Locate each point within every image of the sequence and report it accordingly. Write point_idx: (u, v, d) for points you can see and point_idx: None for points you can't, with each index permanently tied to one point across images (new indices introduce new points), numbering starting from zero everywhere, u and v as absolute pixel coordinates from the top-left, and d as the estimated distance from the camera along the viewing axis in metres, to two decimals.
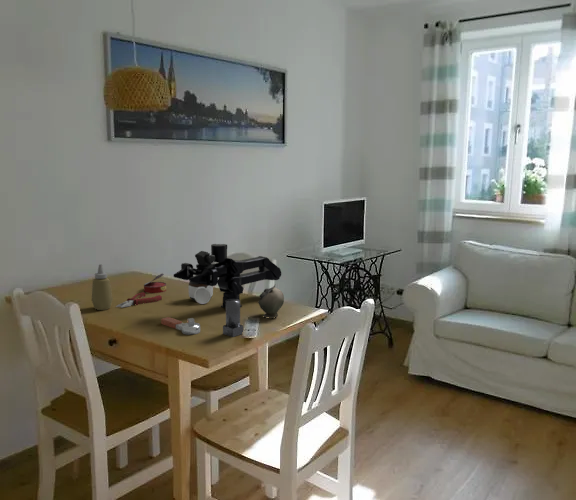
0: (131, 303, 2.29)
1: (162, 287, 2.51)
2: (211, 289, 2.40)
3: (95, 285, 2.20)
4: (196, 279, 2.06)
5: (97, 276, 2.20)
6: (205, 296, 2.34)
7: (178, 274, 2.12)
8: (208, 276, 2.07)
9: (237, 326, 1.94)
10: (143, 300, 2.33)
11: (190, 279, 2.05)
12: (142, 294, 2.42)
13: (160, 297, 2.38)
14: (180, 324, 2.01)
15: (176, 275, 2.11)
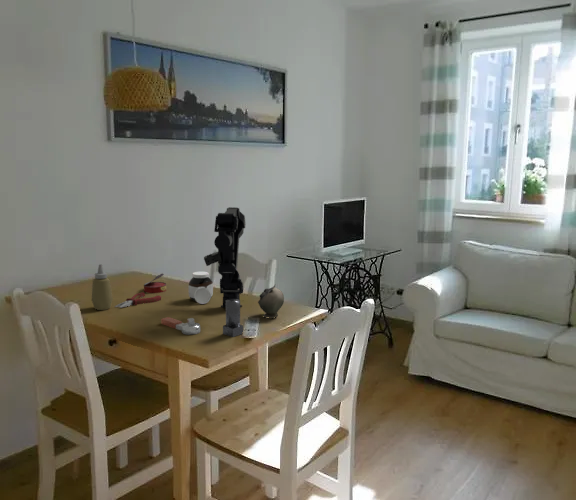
0: (130, 303, 2.29)
1: (162, 287, 2.51)
2: (211, 289, 2.40)
3: (95, 285, 2.20)
4: (227, 282, 2.09)
5: (97, 276, 2.20)
6: (205, 296, 2.34)
7: None
8: (224, 273, 2.06)
9: (237, 326, 1.94)
10: (142, 300, 2.32)
11: (226, 288, 2.10)
12: (141, 294, 2.42)
13: (159, 297, 2.38)
14: (180, 324, 2.01)
15: None
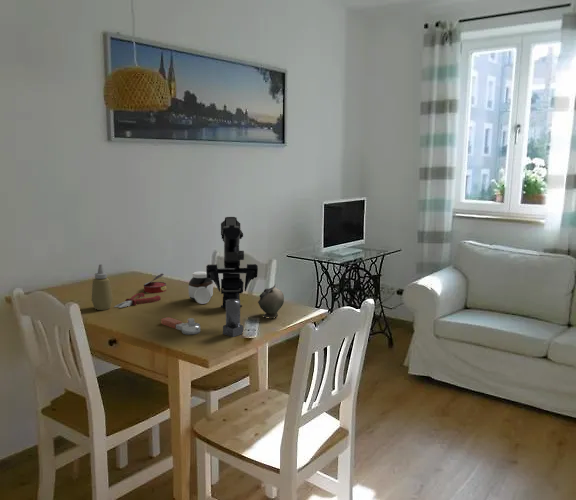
0: (129, 303, 2.29)
1: (162, 287, 2.51)
2: (211, 289, 2.40)
3: (95, 285, 2.20)
4: (247, 285, 2.04)
5: (97, 276, 2.20)
6: (205, 296, 2.34)
7: (219, 285, 2.02)
8: (252, 274, 2.05)
9: (237, 326, 1.94)
10: (142, 300, 2.32)
11: (245, 289, 2.02)
12: (141, 294, 2.42)
13: (159, 297, 2.38)
14: (180, 324, 2.01)
15: None
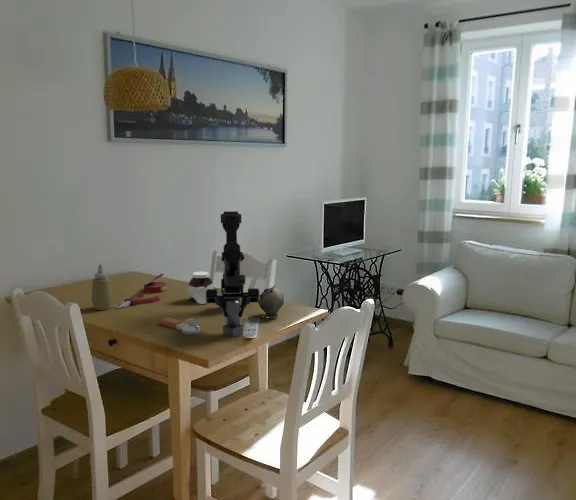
0: (128, 304, 2.29)
1: (162, 287, 2.51)
2: None
3: (95, 285, 2.20)
4: (243, 310, 1.96)
5: (97, 276, 2.20)
6: (205, 296, 2.34)
7: (225, 311, 1.94)
8: (248, 299, 1.97)
9: (237, 326, 1.94)
10: (140, 301, 2.32)
11: (241, 315, 1.94)
12: (140, 295, 2.42)
13: (158, 298, 2.37)
14: (180, 324, 2.01)
15: (225, 314, 1.94)
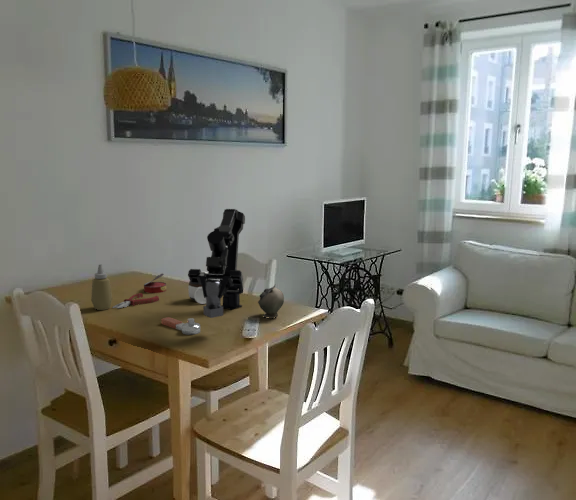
0: (128, 304, 2.28)
1: (162, 287, 2.51)
2: None
3: (95, 285, 2.20)
4: (223, 292, 1.94)
5: (97, 276, 2.20)
6: None
7: (205, 291, 1.94)
8: (230, 281, 1.95)
9: (216, 307, 1.92)
10: (140, 301, 2.31)
11: (220, 297, 1.92)
12: (139, 295, 2.41)
13: (157, 298, 2.37)
14: (180, 324, 2.01)
15: (205, 294, 1.93)
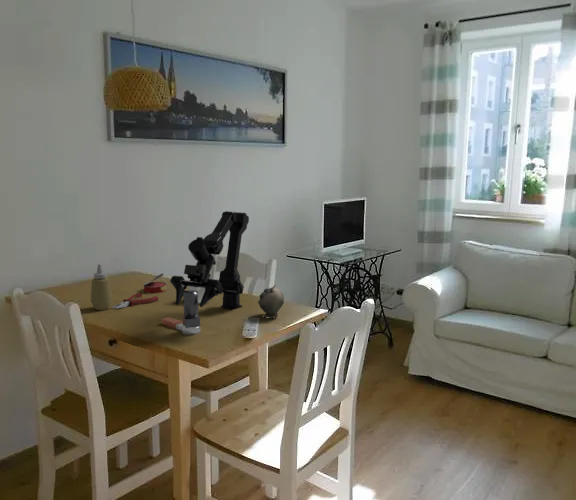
0: (127, 304, 2.28)
1: (162, 287, 2.51)
2: None
3: (94, 285, 2.20)
4: (205, 300, 1.94)
5: (96, 276, 2.20)
6: None
7: (179, 298, 1.97)
8: (213, 290, 1.95)
9: (192, 318, 1.95)
10: (139, 301, 2.31)
11: (201, 305, 1.93)
12: (139, 295, 2.41)
13: (156, 298, 2.36)
14: (180, 324, 2.01)
15: (178, 301, 1.97)
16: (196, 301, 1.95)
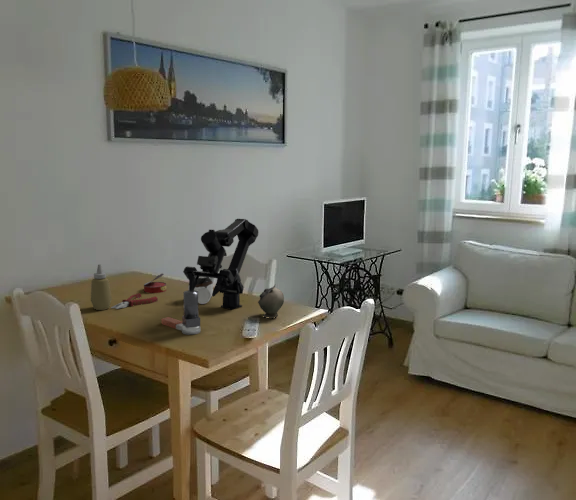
0: (126, 304, 2.27)
1: (162, 287, 2.51)
2: (211, 289, 2.40)
3: (94, 285, 2.20)
4: (217, 290, 2.03)
5: (96, 276, 2.20)
6: (205, 296, 2.34)
7: (192, 288, 2.06)
8: (225, 280, 2.04)
9: (192, 317, 1.95)
10: (138, 301, 2.31)
11: (213, 295, 2.02)
12: (138, 295, 2.40)
13: (156, 298, 2.36)
14: (180, 324, 2.01)
15: None
16: (196, 301, 1.95)
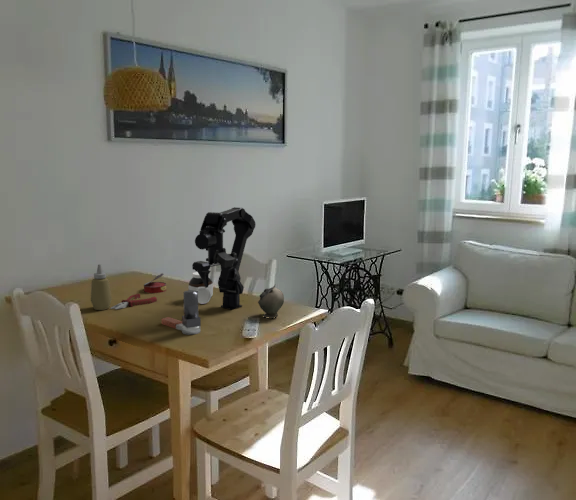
0: (126, 305, 2.27)
1: (162, 287, 2.51)
2: (211, 289, 2.40)
3: (94, 285, 2.20)
4: None
5: (96, 276, 2.20)
6: (205, 296, 2.34)
7: None
8: None
9: (193, 317, 1.95)
10: (138, 302, 2.30)
11: None
12: (137, 296, 2.40)
13: (155, 298, 2.36)
14: (180, 324, 2.01)
15: None
16: (197, 301, 1.95)
